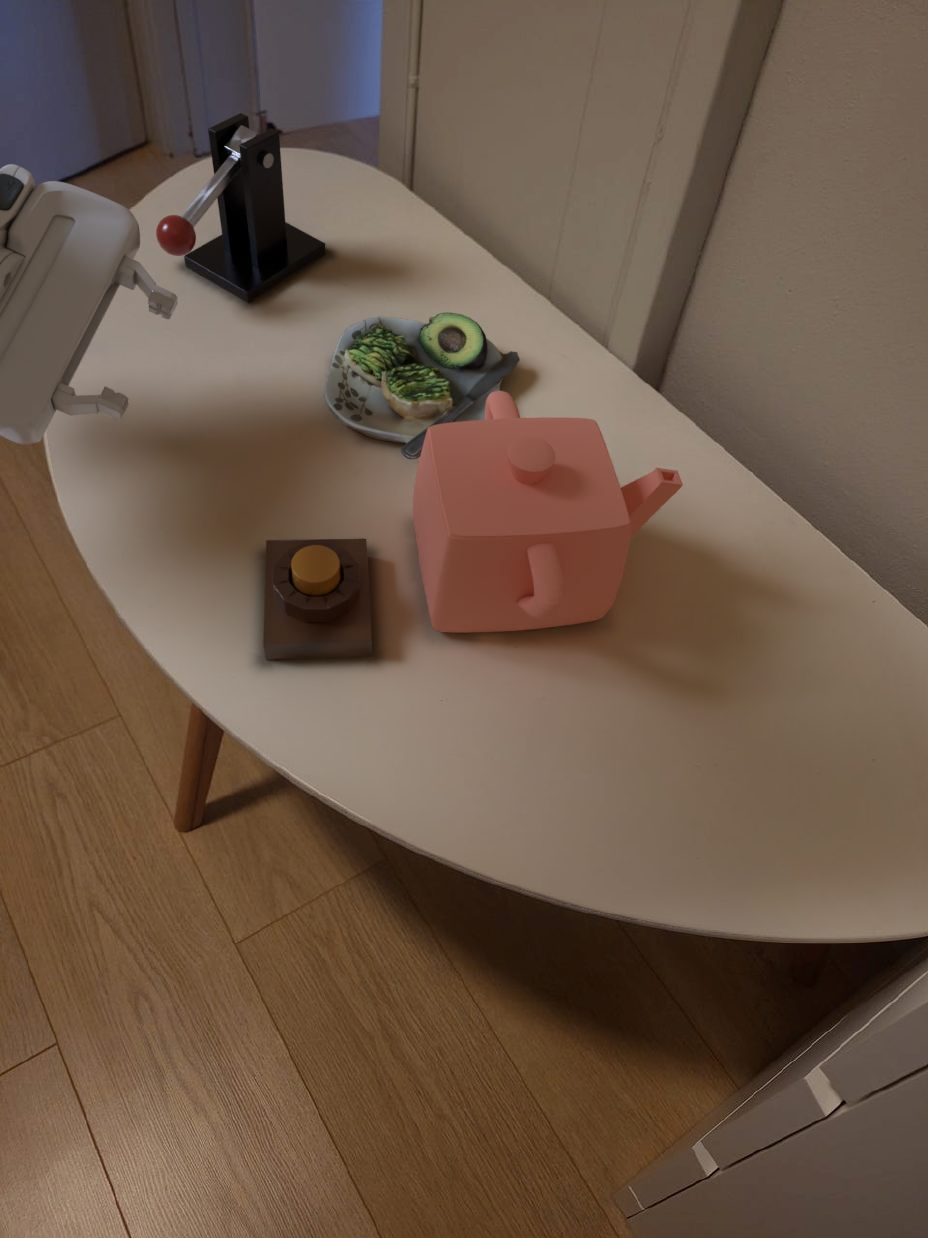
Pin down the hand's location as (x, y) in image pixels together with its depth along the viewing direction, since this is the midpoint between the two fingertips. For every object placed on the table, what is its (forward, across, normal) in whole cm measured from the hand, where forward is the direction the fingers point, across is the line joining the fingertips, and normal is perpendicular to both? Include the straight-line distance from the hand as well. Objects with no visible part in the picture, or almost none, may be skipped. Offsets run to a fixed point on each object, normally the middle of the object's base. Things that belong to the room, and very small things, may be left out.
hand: (149, 357), depth 71 cm
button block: (+19, -13, +2) cm, 23 cm away
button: (+18, -12, -2) cm, 22 cm away
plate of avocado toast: (+21, +13, +11) cm, 27 cm away
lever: (-3, +23, +13) cm, 27 cm away
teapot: (+35, -4, 0) cm, 35 cm away
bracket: (+1, +25, +21) cm, 33 cm away
